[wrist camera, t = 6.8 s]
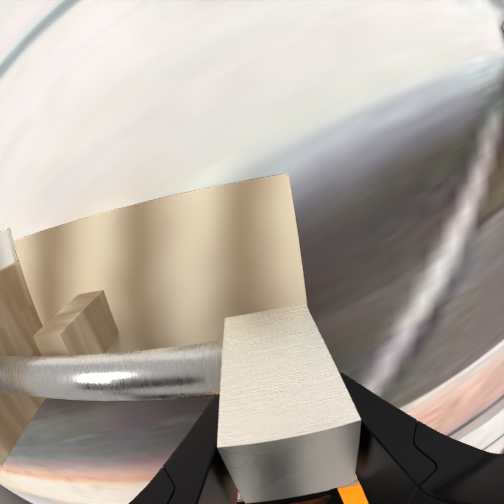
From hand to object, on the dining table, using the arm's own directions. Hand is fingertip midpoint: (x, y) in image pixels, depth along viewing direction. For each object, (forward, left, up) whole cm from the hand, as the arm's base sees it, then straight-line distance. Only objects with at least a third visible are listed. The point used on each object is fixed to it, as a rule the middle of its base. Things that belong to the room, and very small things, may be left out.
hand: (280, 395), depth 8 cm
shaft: (0, +9, -3) cm, 9 cm away
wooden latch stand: (0, +12, -10) cm, 16 cm away
